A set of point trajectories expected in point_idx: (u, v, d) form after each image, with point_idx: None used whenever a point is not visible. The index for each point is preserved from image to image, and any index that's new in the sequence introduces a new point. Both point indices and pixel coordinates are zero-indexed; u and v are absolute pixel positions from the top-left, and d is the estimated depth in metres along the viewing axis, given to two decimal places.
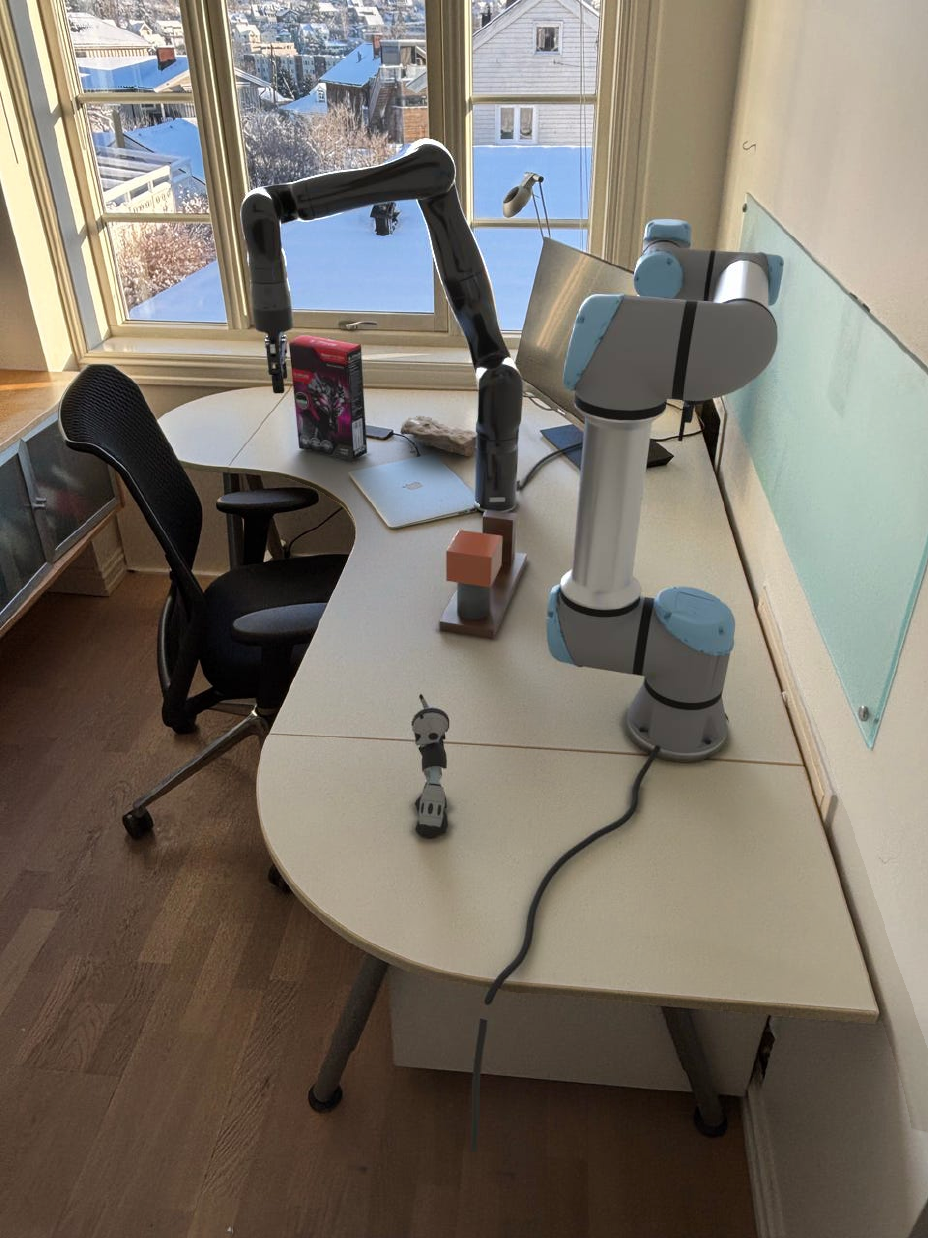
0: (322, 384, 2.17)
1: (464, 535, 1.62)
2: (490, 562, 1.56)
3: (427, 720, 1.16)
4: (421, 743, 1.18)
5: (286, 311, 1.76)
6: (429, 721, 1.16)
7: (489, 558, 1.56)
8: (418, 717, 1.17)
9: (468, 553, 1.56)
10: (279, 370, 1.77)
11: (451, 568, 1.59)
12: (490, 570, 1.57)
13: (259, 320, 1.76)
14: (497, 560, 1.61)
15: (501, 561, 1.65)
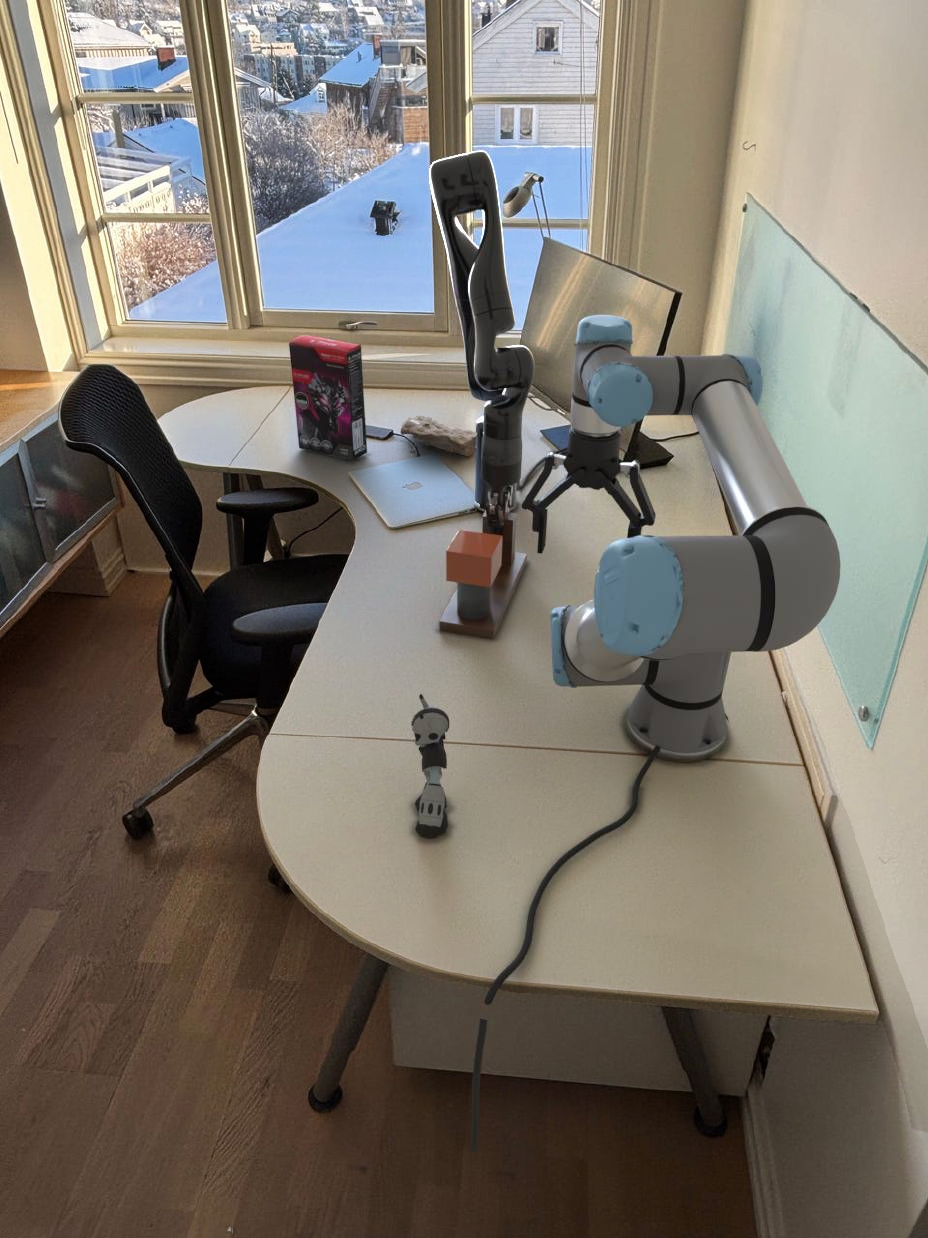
0: (322, 384, 2.17)
1: (464, 535, 1.62)
2: (490, 562, 1.56)
3: (427, 720, 1.16)
4: (421, 743, 1.18)
5: (513, 467, 1.68)
6: (429, 721, 1.16)
7: (489, 558, 1.56)
8: (418, 717, 1.17)
9: (468, 553, 1.56)
10: (498, 524, 1.73)
11: (451, 568, 1.59)
12: (490, 570, 1.57)
13: (484, 472, 1.70)
14: (497, 560, 1.61)
15: (501, 561, 1.65)
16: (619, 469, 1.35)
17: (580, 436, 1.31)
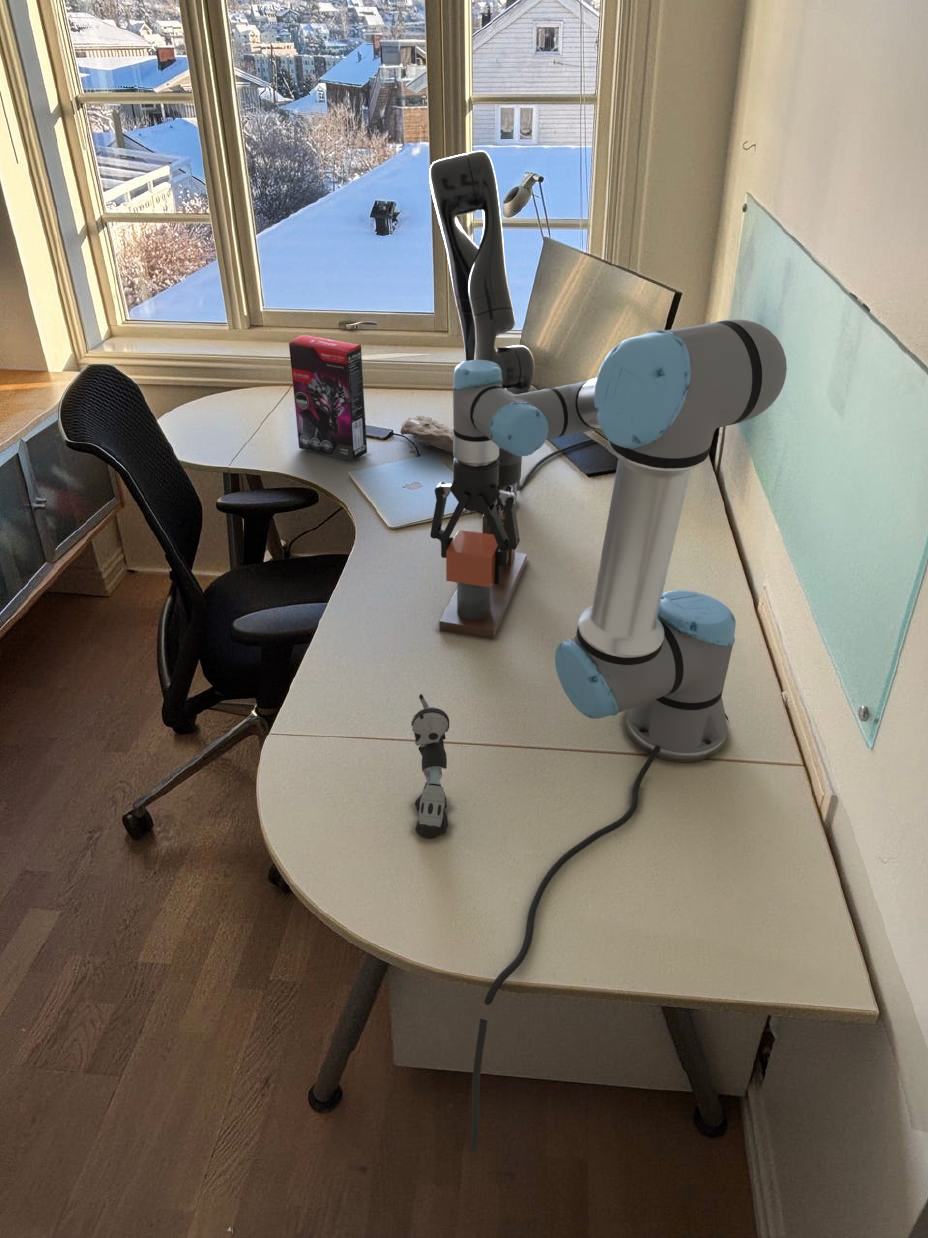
0: (322, 384, 2.17)
1: (464, 535, 1.62)
2: (490, 562, 1.56)
3: (427, 720, 1.16)
4: (421, 743, 1.18)
5: (513, 467, 1.68)
6: (429, 721, 1.16)
7: (489, 558, 1.56)
8: (418, 717, 1.17)
9: (468, 553, 1.56)
10: None
11: (451, 568, 1.59)
12: (490, 570, 1.57)
13: None
14: None
15: None
16: (498, 495, 1.52)
17: (461, 465, 1.49)
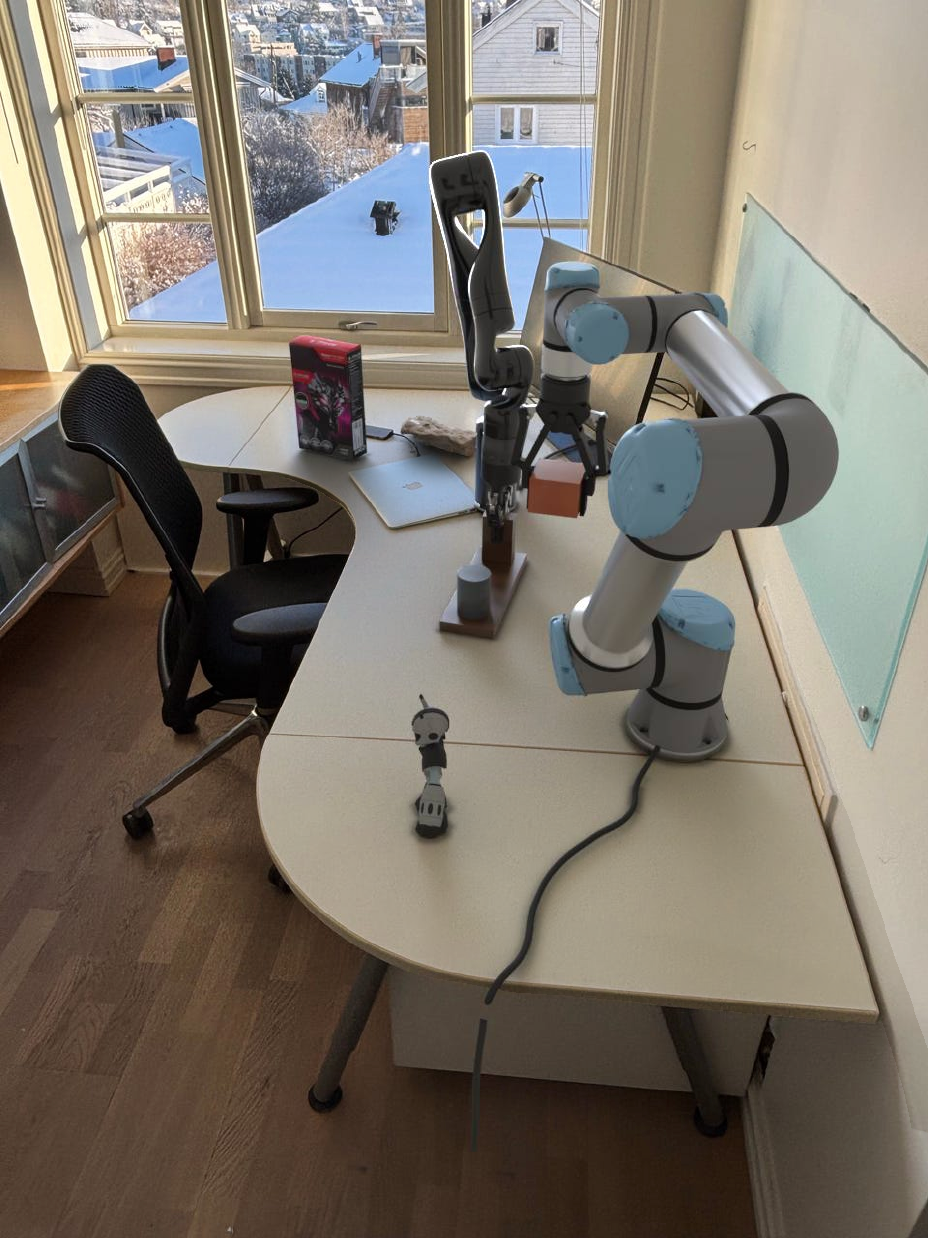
0: (322, 384, 2.17)
1: (546, 463, 1.49)
2: (578, 489, 1.43)
3: (427, 720, 1.16)
4: (421, 743, 1.18)
5: (513, 467, 1.68)
6: (429, 721, 1.16)
7: (577, 485, 1.43)
8: (418, 717, 1.17)
9: (553, 480, 1.44)
10: (498, 524, 1.73)
11: (534, 497, 1.46)
12: (577, 499, 1.44)
13: (484, 472, 1.70)
14: None
15: None
16: (589, 415, 1.40)
17: (551, 380, 1.36)
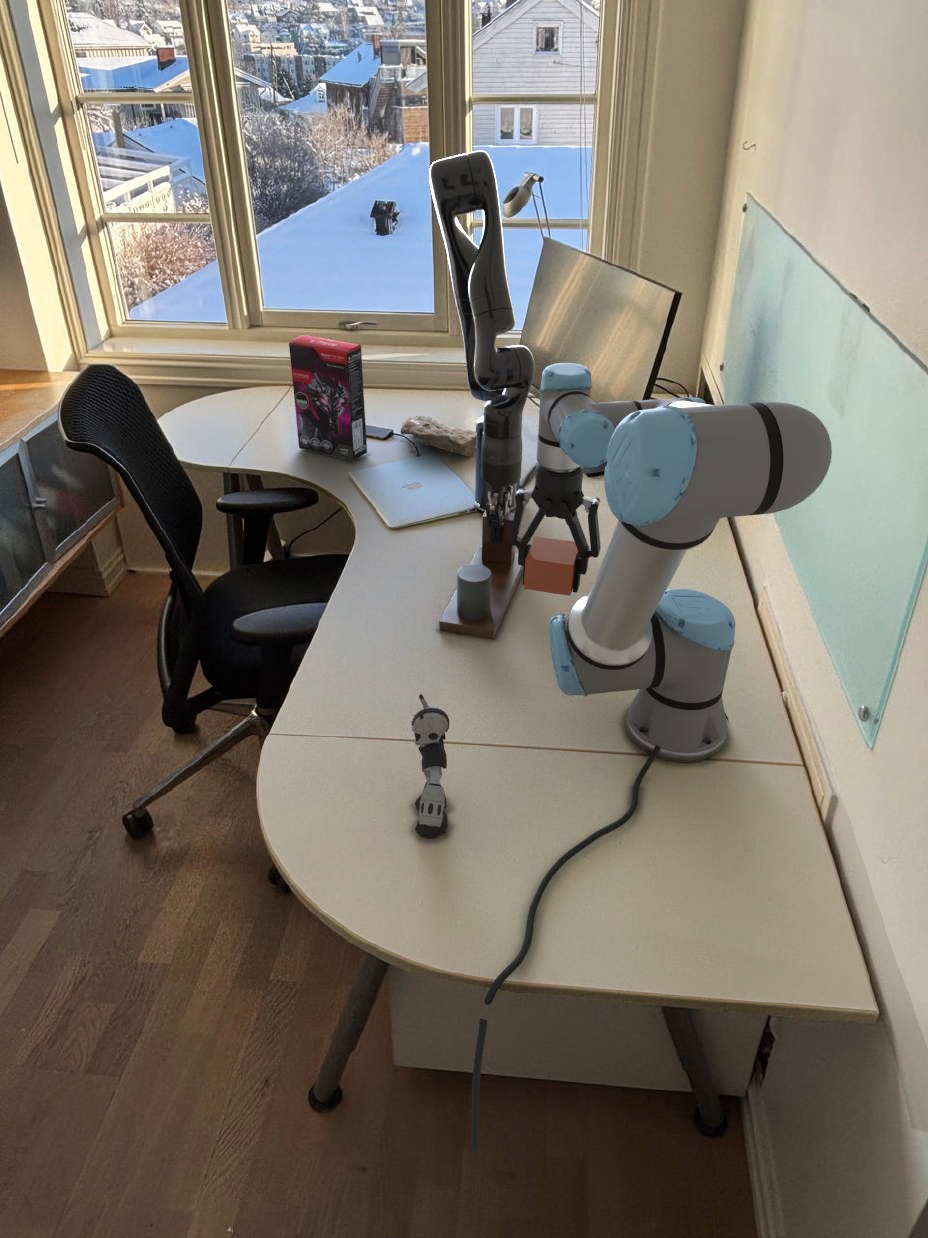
0: (322, 384, 2.17)
1: (542, 542, 1.57)
2: (571, 570, 1.52)
3: (427, 720, 1.16)
4: (421, 743, 1.18)
5: (513, 467, 1.68)
6: (429, 721, 1.16)
7: (570, 566, 1.51)
8: (418, 717, 1.17)
9: (548, 560, 1.52)
10: (498, 524, 1.73)
11: (530, 576, 1.54)
12: (571, 578, 1.53)
13: (484, 472, 1.70)
14: None
15: None
16: (581, 502, 1.48)
17: (545, 471, 1.44)
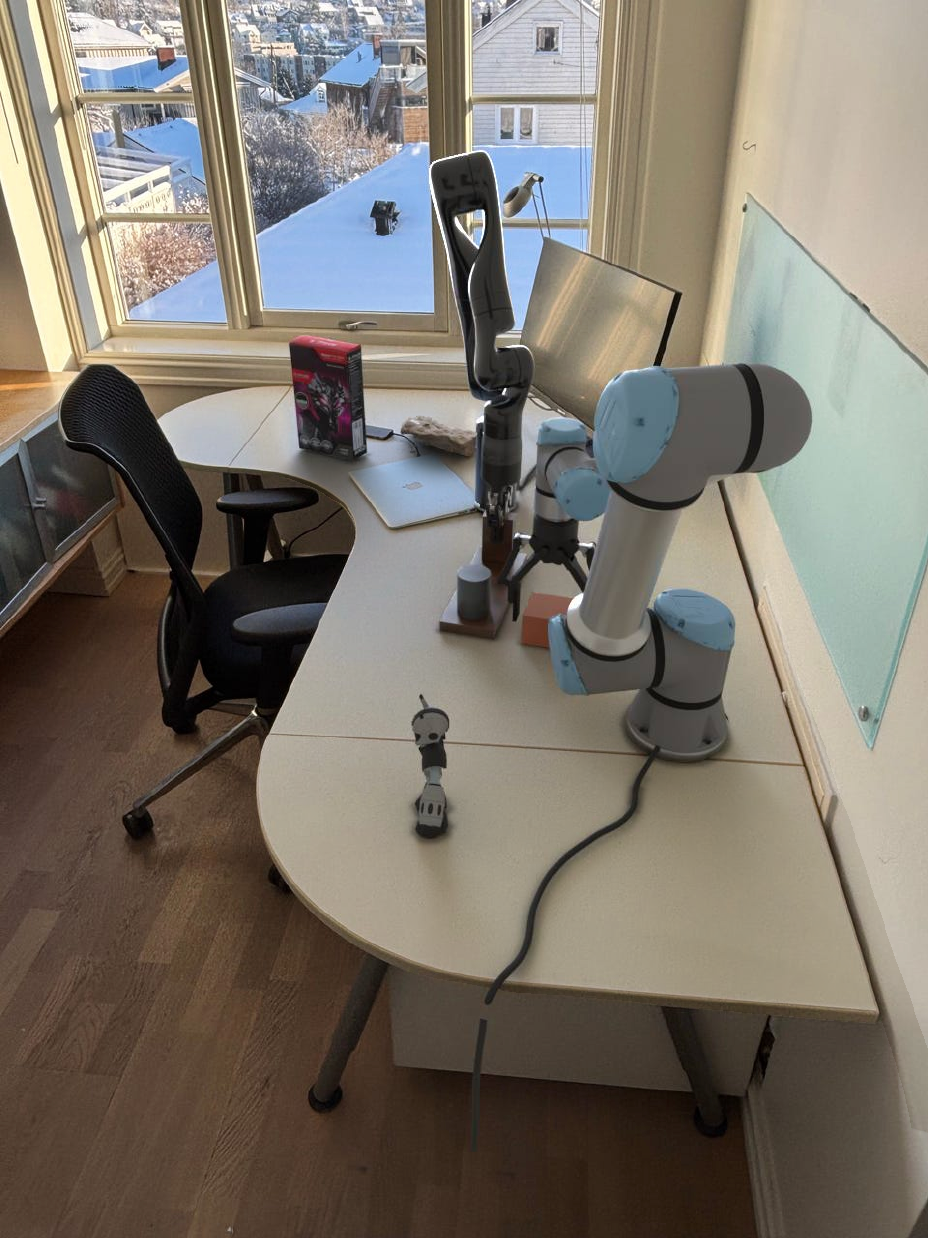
0: (322, 384, 2.17)
1: (538, 598, 1.63)
2: None
3: (427, 720, 1.16)
4: (421, 743, 1.18)
5: (513, 467, 1.68)
6: (429, 721, 1.16)
7: None
8: (418, 717, 1.17)
9: (544, 617, 1.58)
10: (498, 524, 1.73)
11: (527, 631, 1.60)
12: None
13: (484, 472, 1.70)
14: None
15: None
16: (578, 549, 1.53)
17: (542, 521, 1.49)
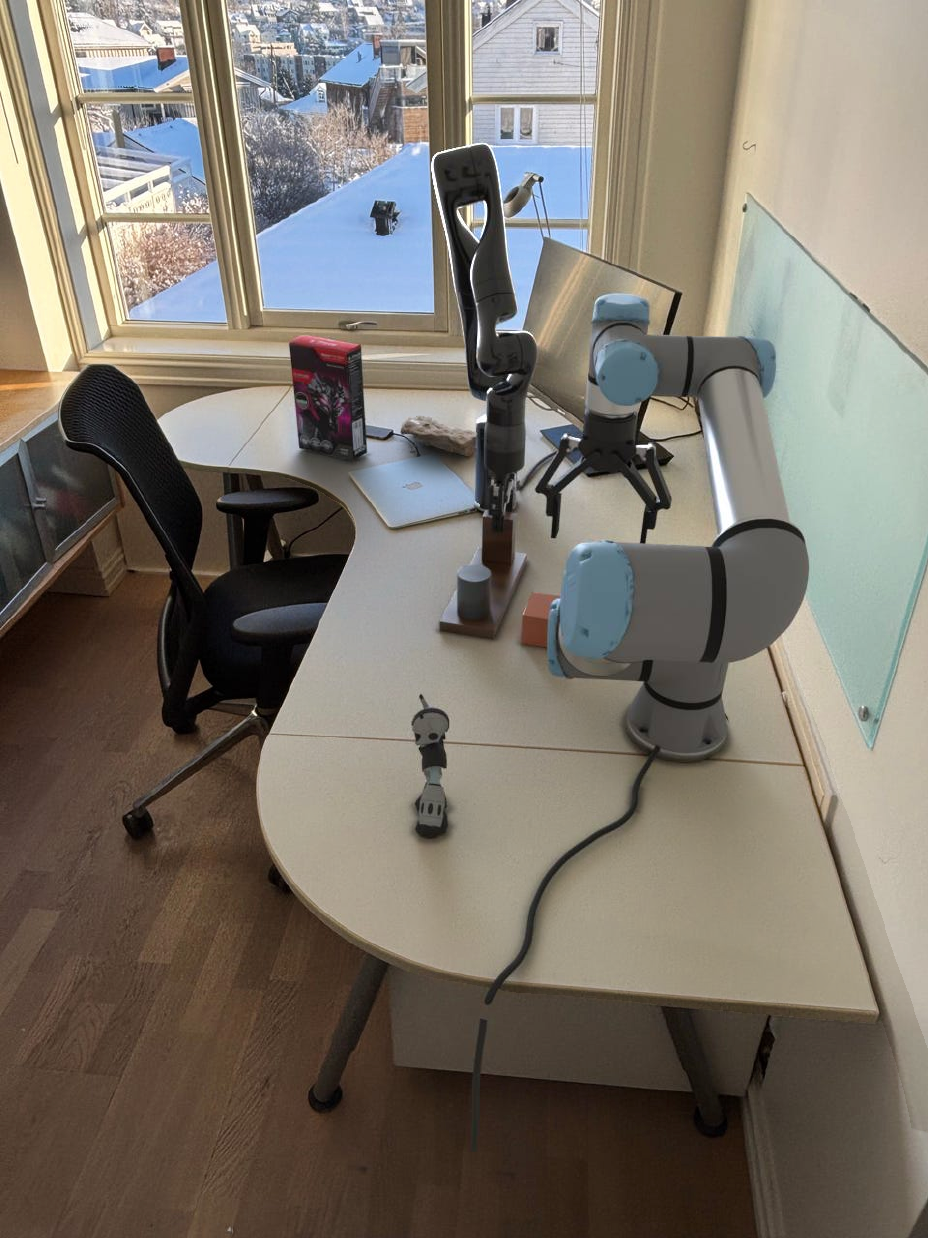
0: (322, 384, 2.17)
1: (538, 598, 1.63)
2: None
3: (427, 720, 1.16)
4: (421, 743, 1.18)
5: (517, 453, 1.67)
6: (429, 721, 1.16)
7: None
8: (418, 717, 1.17)
9: (544, 617, 1.58)
10: (499, 512, 1.69)
11: (527, 631, 1.60)
12: None
13: (488, 459, 1.68)
14: None
15: None
16: (635, 451, 1.32)
17: (596, 417, 1.29)
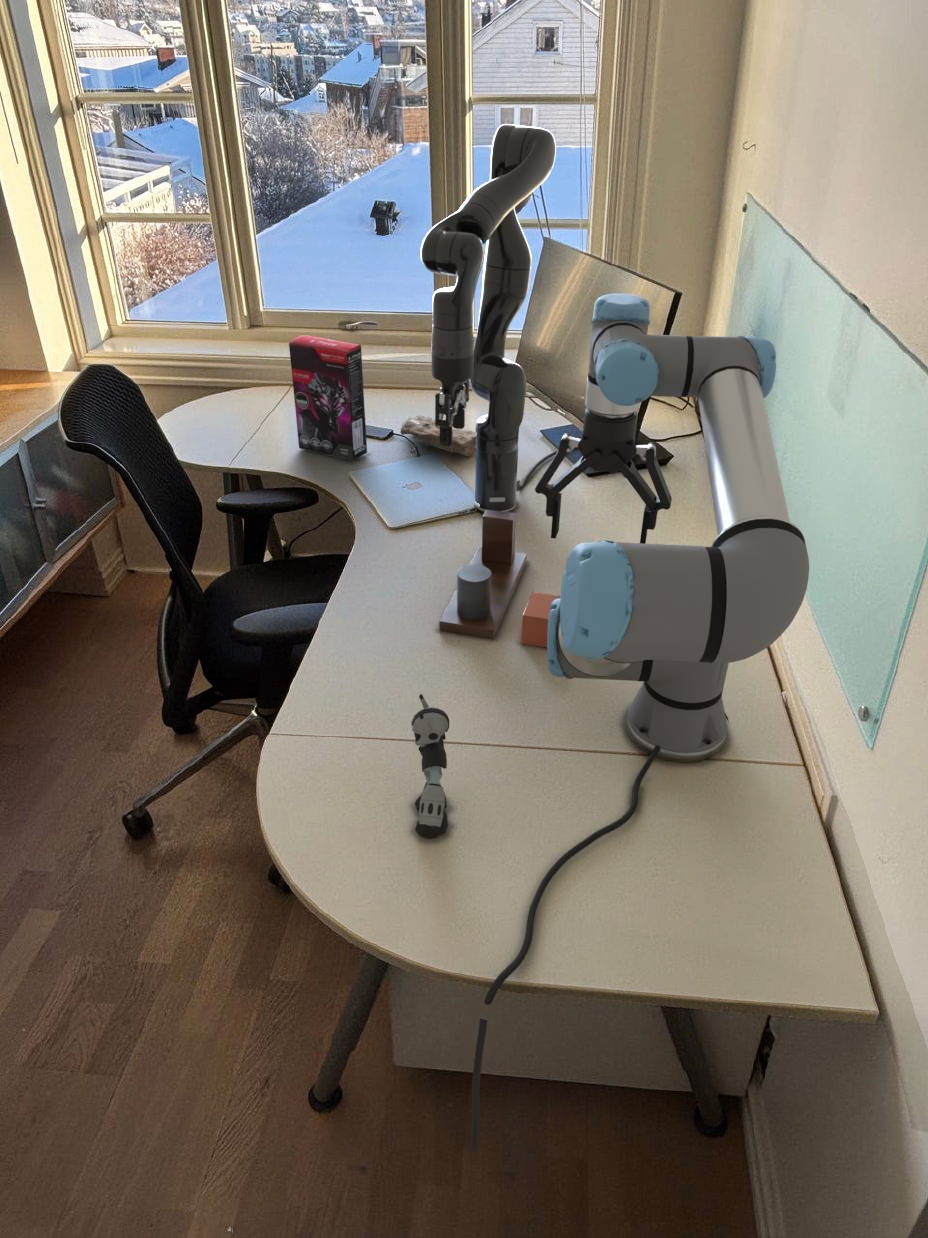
0: (322, 384, 2.17)
1: (538, 598, 1.63)
2: None
3: (427, 720, 1.16)
4: (421, 743, 1.18)
5: (464, 361, 1.62)
6: (429, 721, 1.16)
7: None
8: (418, 717, 1.17)
9: (544, 617, 1.58)
10: (446, 422, 1.64)
11: (527, 631, 1.60)
12: None
13: (435, 367, 1.63)
14: None
15: None
16: (635, 451, 1.32)
17: (596, 417, 1.29)
